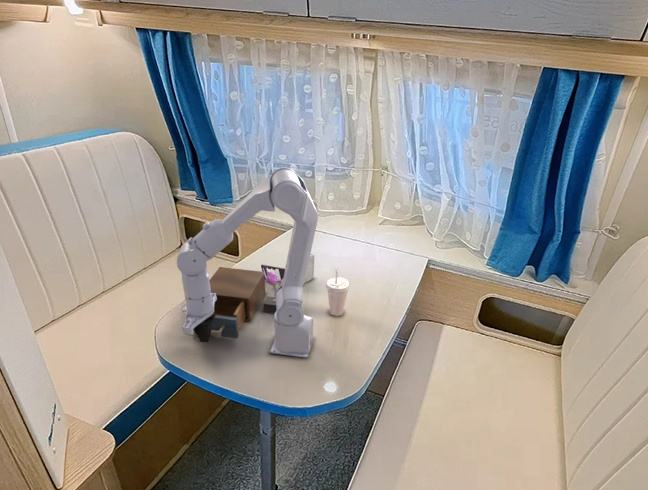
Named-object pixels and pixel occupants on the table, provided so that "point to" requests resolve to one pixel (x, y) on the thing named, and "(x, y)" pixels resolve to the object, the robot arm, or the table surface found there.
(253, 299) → the cabinet
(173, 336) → the table surface
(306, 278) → the medicine box
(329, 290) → the smoothie
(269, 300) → the remote
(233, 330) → the drawer
